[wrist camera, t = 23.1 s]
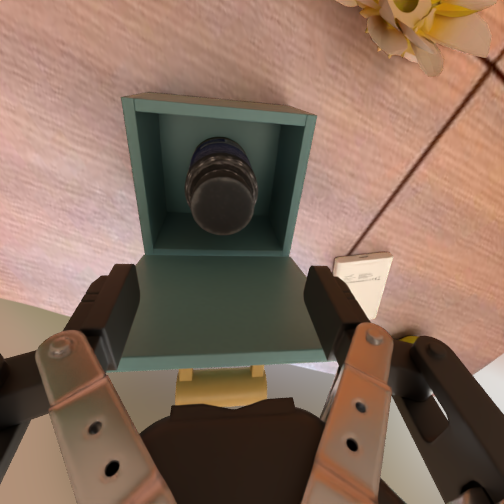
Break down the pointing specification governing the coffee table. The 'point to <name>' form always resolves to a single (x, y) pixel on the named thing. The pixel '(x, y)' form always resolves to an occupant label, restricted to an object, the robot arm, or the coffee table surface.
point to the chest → (178, 161)
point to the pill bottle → (221, 186)
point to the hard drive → (365, 278)
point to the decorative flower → (426, 28)
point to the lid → (220, 324)
